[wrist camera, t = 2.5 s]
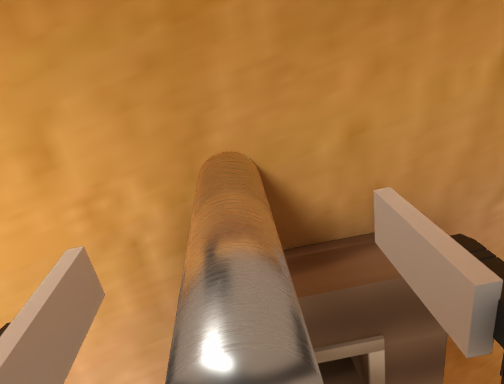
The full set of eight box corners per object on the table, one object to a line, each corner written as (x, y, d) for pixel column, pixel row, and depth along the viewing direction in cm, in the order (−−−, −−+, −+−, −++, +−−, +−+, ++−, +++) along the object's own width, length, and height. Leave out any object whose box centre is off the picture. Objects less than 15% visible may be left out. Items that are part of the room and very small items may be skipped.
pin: (191, 158, 21) (139, 369, 7) (254, 146, 21) (319, 333, 7) (206, 214, 23) (185, 472, 9) (264, 202, 23) (332, 442, 9)
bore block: (191, 268, 24) (183, 324, 20) (409, 225, 24) (456, 270, 20) (234, 410, 31) (236, 478, 26) (406, 376, 31) (440, 437, 26)
